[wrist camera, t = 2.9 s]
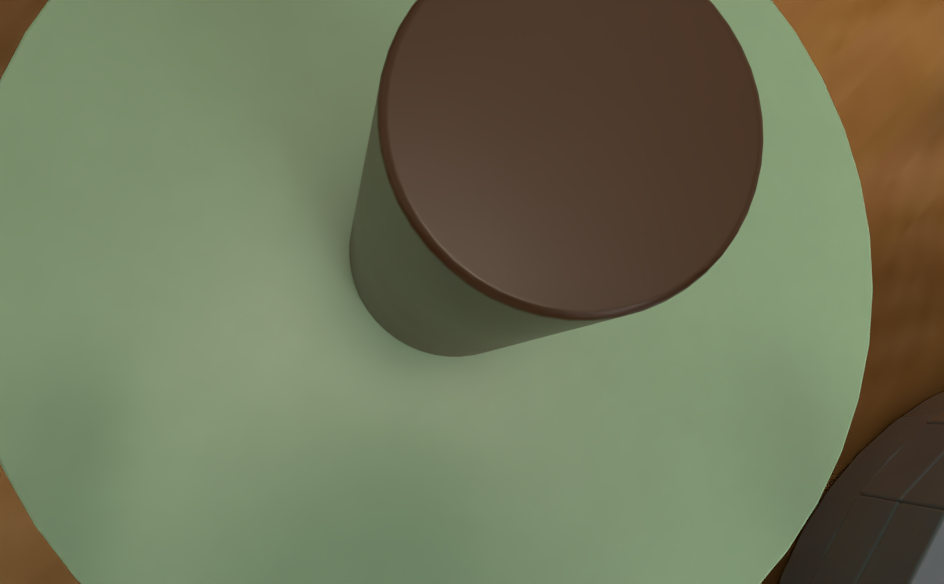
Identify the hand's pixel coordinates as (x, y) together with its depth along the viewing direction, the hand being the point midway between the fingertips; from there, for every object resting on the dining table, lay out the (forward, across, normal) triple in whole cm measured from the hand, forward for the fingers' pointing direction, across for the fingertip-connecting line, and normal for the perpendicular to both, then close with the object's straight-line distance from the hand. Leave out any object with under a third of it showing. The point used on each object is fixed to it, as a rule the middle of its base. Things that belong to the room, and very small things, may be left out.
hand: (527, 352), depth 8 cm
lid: (+4, 0, +2) cm, 5 cm away
